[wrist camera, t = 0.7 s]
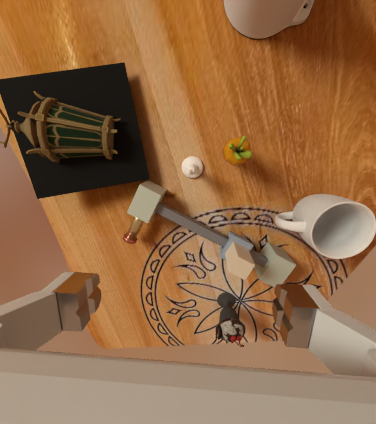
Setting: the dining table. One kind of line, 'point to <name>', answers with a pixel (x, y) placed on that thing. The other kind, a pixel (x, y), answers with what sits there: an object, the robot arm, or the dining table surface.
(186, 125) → the dining table surface
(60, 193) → the lantern
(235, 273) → the carriage
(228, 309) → the sundae
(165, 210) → the guide rail
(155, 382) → the robot arm
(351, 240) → the mug
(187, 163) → the chess piece
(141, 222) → the cylinder
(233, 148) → the carrot
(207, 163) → the dining table surface
